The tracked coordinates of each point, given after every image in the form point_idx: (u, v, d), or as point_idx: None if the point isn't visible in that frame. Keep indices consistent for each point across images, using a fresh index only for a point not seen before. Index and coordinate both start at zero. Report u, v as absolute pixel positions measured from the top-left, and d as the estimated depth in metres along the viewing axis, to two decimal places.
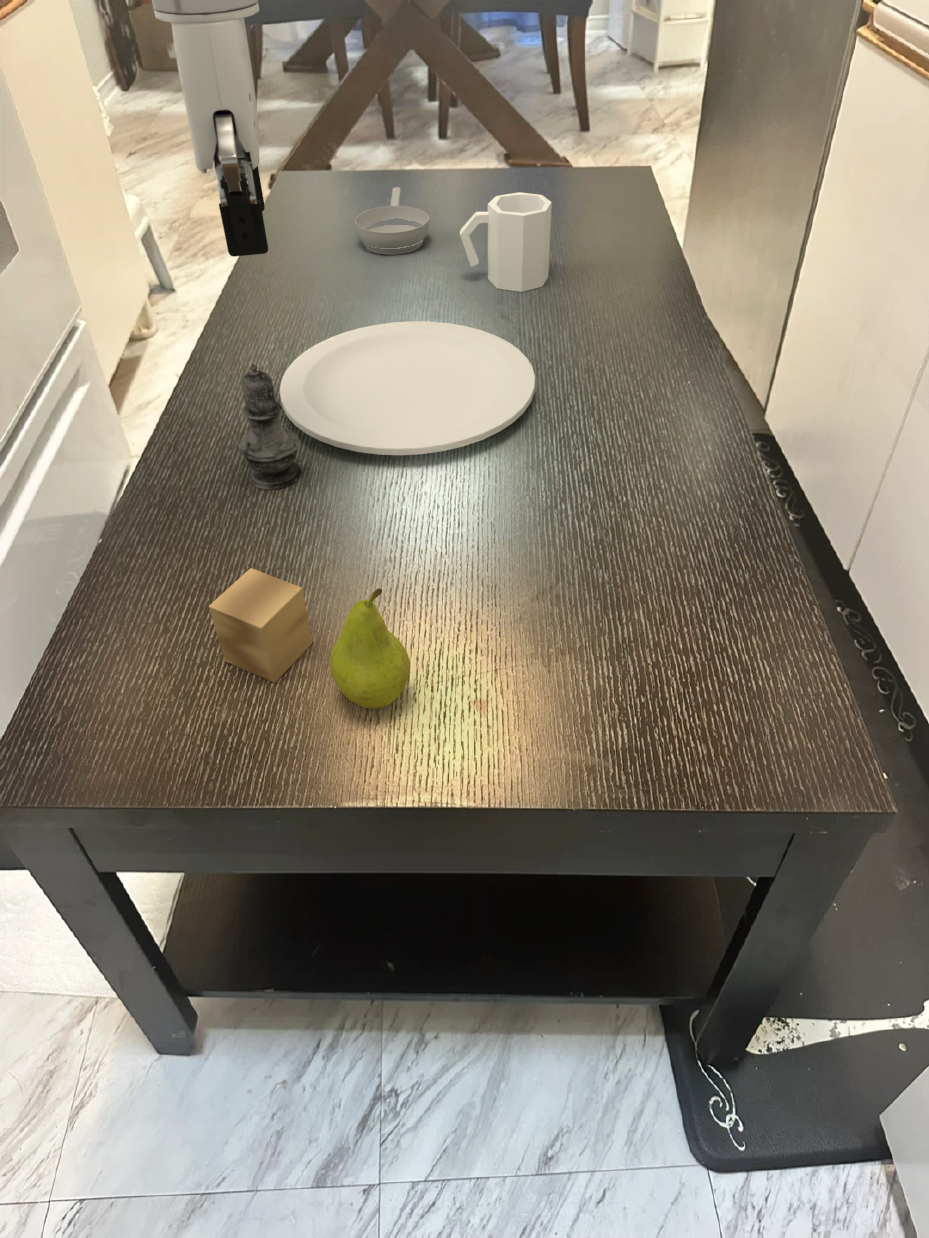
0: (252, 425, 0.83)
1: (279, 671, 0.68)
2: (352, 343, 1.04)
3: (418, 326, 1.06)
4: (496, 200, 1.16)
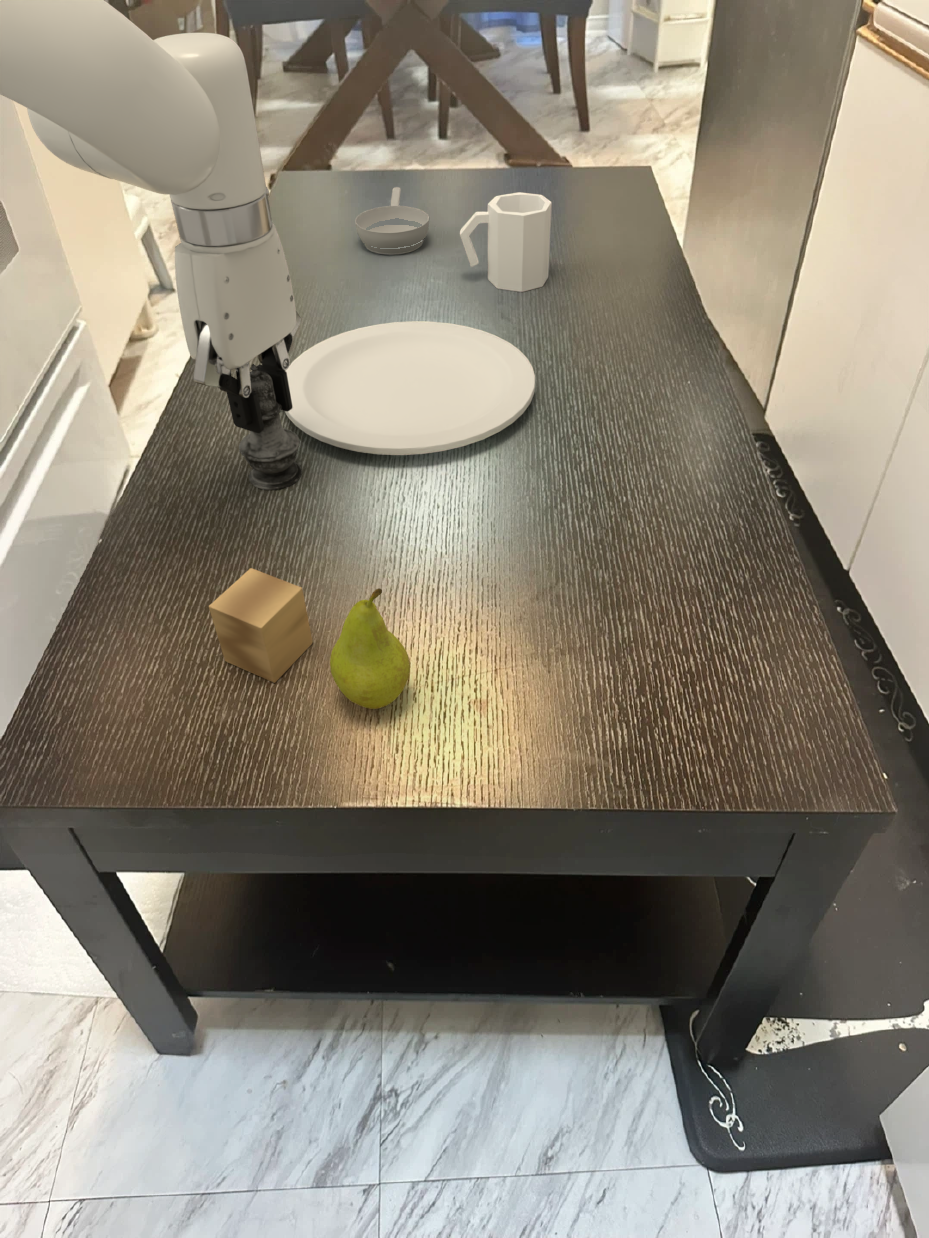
0: None
1: (279, 671, 0.68)
2: (352, 343, 1.04)
3: (418, 326, 1.06)
4: (496, 200, 1.16)
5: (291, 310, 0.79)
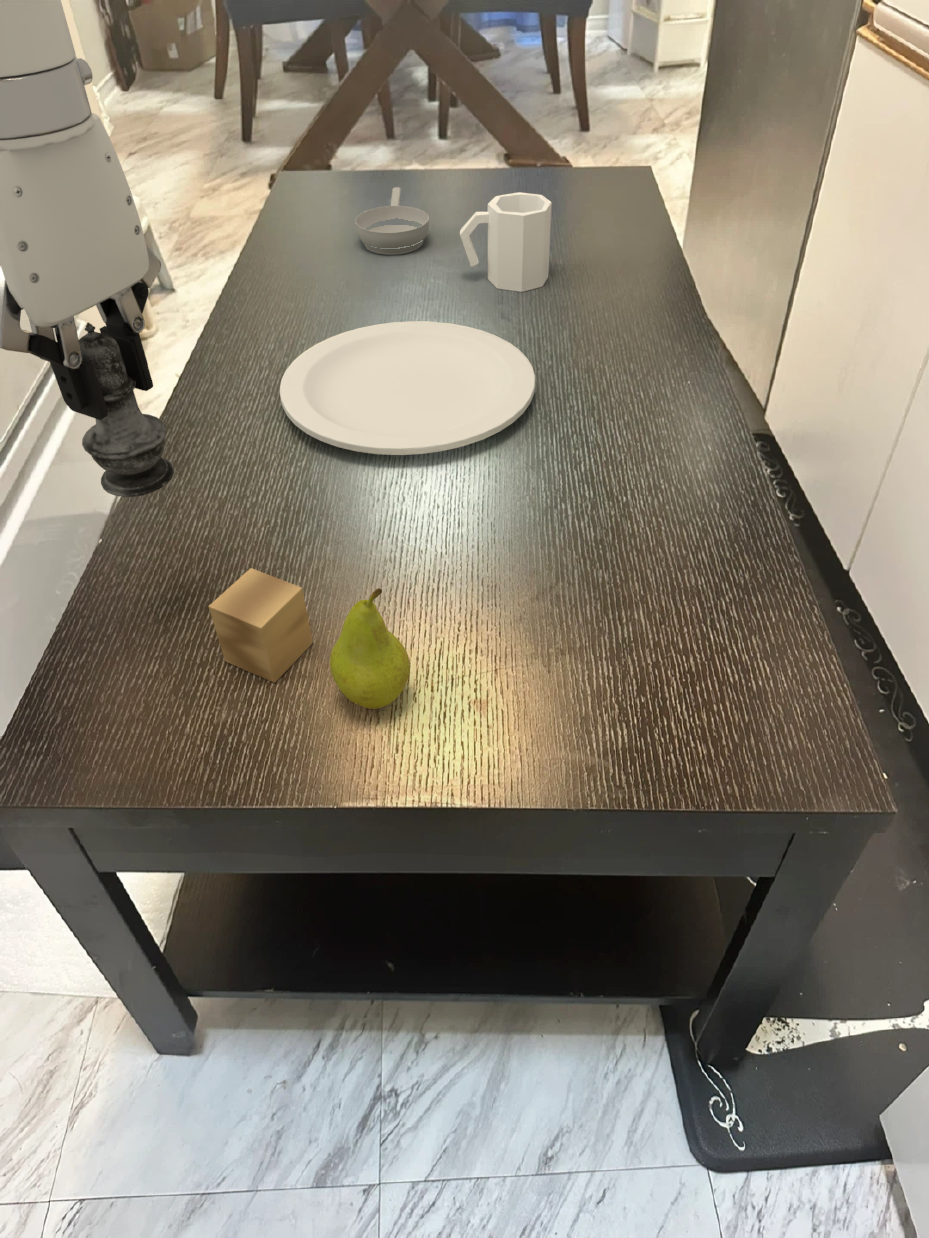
0: None
1: (279, 671, 0.68)
2: (352, 343, 1.04)
3: (418, 326, 1.06)
4: (496, 200, 1.16)
5: (138, 247, 0.57)
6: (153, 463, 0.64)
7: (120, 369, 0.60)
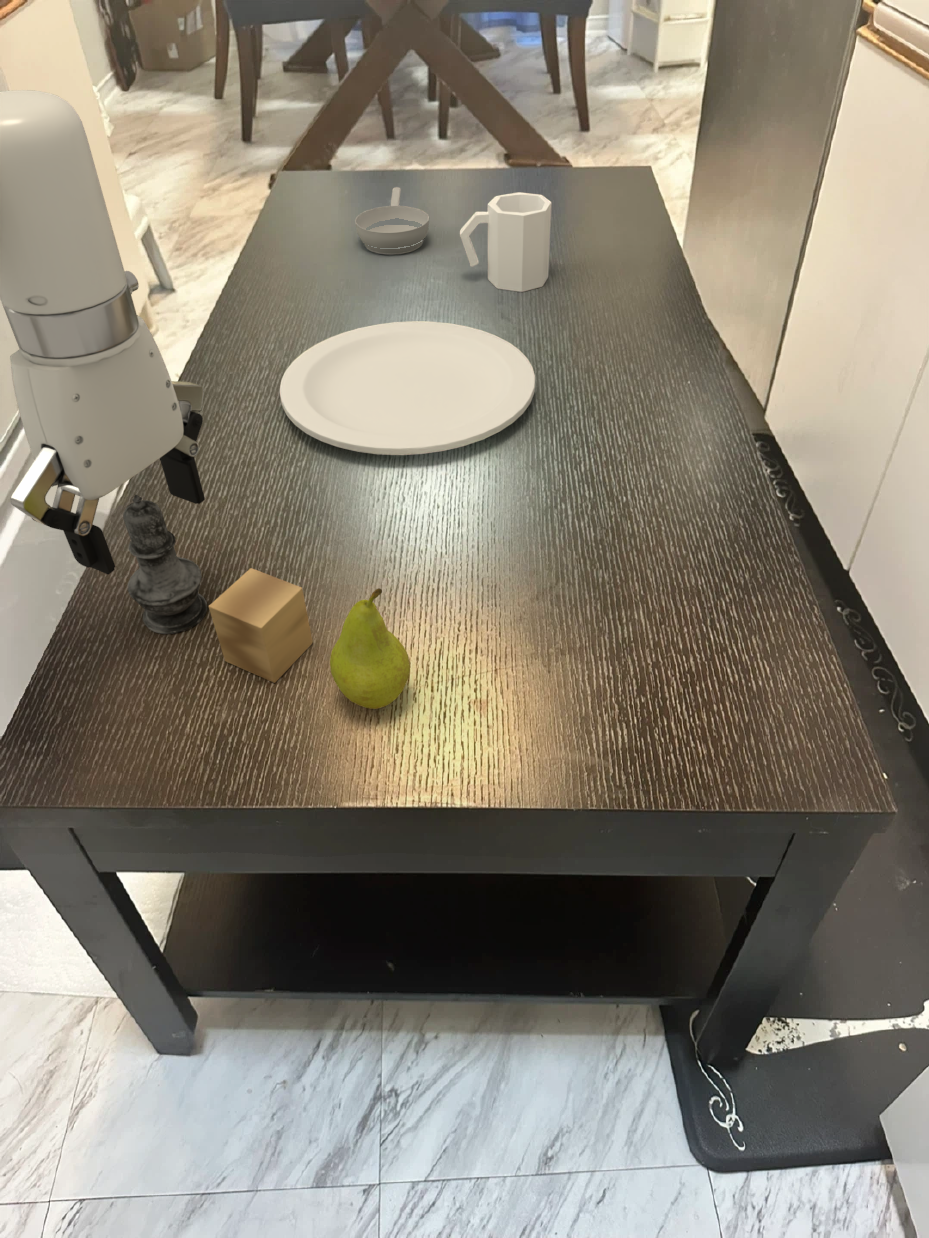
0: (140, 563, 0.69)
1: (279, 671, 0.68)
2: (352, 343, 1.04)
3: (418, 326, 1.06)
4: (496, 200, 1.16)
5: (175, 420, 0.64)
6: (190, 604, 0.72)
7: (163, 531, 0.68)
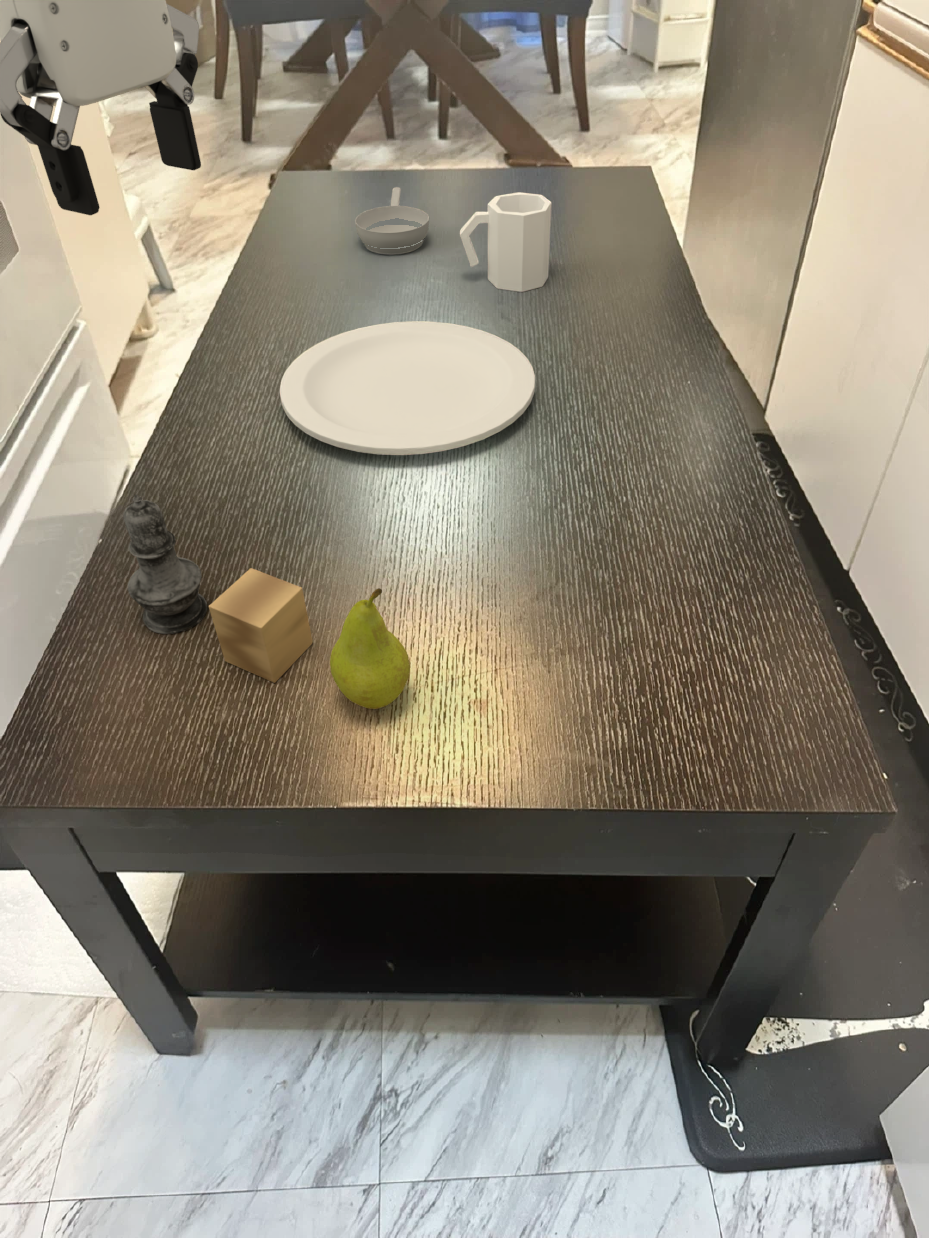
0: (140, 563, 0.69)
1: (279, 671, 0.68)
2: (352, 343, 1.04)
3: (418, 326, 1.06)
4: (496, 200, 1.16)
5: (166, 38, 0.57)
6: (190, 604, 0.72)
7: (163, 531, 0.68)
